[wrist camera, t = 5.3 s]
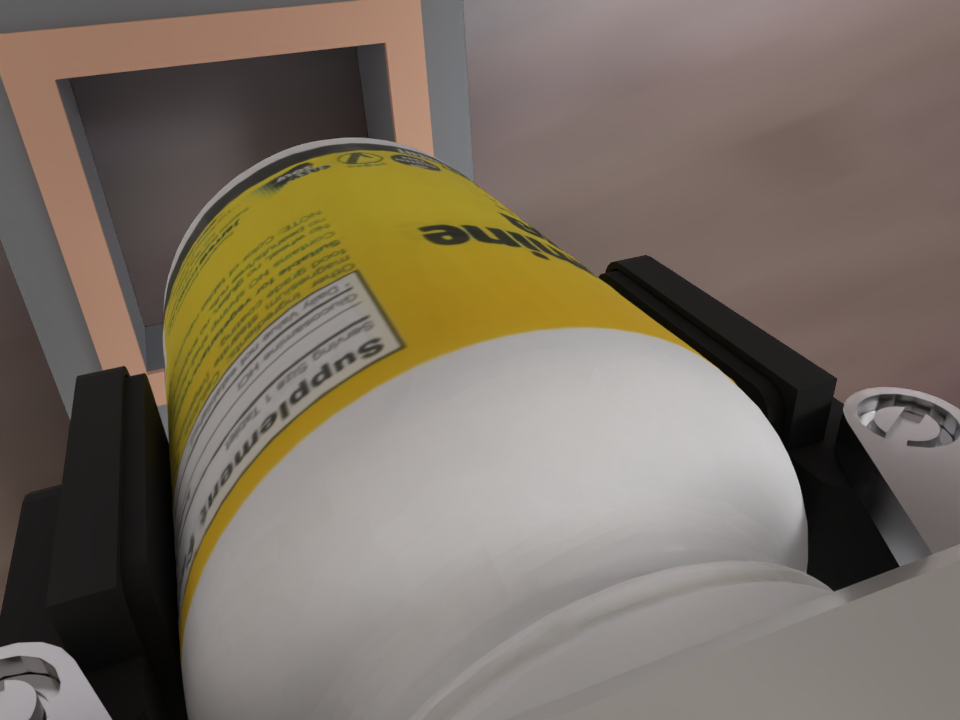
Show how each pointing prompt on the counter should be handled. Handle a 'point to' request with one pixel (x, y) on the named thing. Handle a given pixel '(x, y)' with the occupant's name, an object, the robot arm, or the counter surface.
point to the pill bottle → (442, 457)
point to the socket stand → (165, 43)
